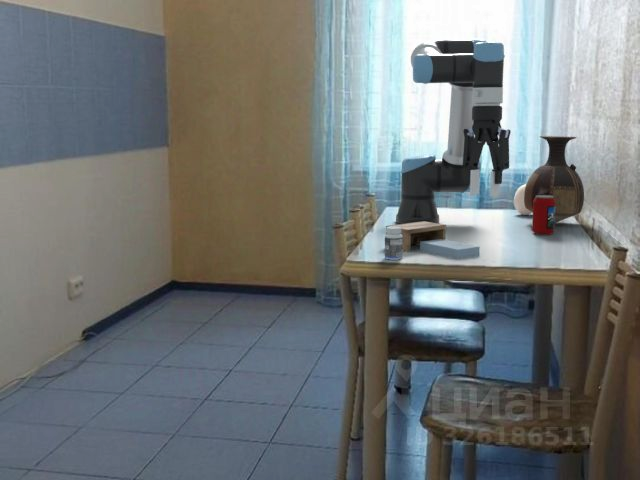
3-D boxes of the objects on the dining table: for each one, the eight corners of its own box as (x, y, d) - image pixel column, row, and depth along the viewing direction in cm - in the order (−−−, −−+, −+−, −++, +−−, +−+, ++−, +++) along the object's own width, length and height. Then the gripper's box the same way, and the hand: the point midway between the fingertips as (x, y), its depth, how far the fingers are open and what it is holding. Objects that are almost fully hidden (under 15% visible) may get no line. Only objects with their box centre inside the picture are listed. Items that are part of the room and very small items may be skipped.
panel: (419, 252, 213) (420, 241, 212) (440, 249, 217) (441, 238, 217) (457, 260, 200) (457, 249, 200) (479, 257, 205) (479, 246, 204)
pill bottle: (383, 257, 204) (383, 226, 202) (400, 256, 204) (400, 225, 203) (386, 260, 199) (386, 228, 198) (403, 260, 200) (404, 228, 198)
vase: (546, 230, 245) (550, 137, 240) (507, 223, 263) (510, 135, 258) (599, 225, 255) (604, 135, 250) (559, 218, 272) (562, 134, 267)
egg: (535, 217, 277) (536, 185, 275) (511, 215, 281) (512, 184, 279) (539, 214, 285) (540, 183, 283) (515, 212, 288) (516, 182, 286)
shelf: (385, 247, 218) (386, 226, 217) (423, 241, 227) (423, 221, 226) (407, 251, 211) (407, 229, 210) (445, 245, 220) (445, 224, 219)
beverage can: (555, 235, 236) (556, 197, 234) (532, 235, 237) (534, 197, 235) (553, 232, 242) (554, 194, 240) (531, 231, 244) (532, 194, 242)
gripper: (449, 105, 198) (447, 193, 202) (507, 104, 183) (504, 200, 187) (468, 105, 202) (466, 191, 206) (527, 104, 187) (523, 197, 191)
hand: (484, 195), depth 196 cm, fingers open, 6 cm apart
